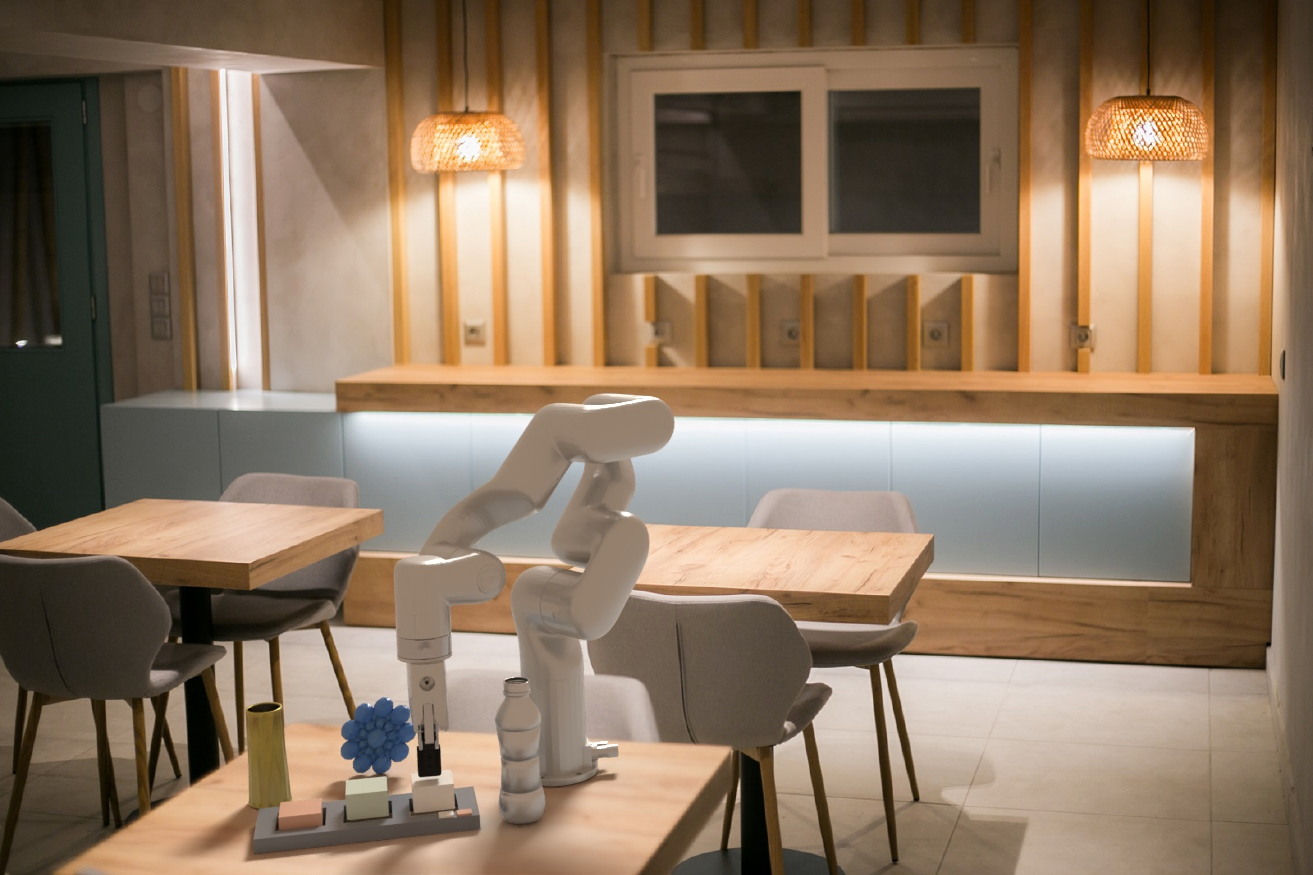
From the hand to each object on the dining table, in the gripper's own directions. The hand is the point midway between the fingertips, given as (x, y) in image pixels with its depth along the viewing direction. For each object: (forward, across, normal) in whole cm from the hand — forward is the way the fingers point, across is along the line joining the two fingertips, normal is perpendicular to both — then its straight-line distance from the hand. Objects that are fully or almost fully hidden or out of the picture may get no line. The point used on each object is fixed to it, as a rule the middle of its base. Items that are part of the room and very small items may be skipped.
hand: (429, 774), depth 200 cm
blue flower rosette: (+7, +21, +7) cm, 23 cm away
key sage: (+5, 0, +9) cm, 10 cm away
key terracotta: (+7, 0, +18) cm, 19 cm away
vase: (+7, +13, +23) cm, 27 cm away
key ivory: (+4, 0, 0) cm, 5 cm away
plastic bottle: (+7, -4, -12) cm, 15 cm away
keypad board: (+7, 0, +9) cm, 11 cm away
